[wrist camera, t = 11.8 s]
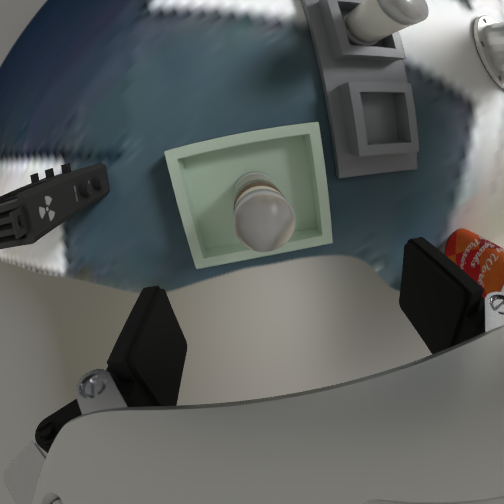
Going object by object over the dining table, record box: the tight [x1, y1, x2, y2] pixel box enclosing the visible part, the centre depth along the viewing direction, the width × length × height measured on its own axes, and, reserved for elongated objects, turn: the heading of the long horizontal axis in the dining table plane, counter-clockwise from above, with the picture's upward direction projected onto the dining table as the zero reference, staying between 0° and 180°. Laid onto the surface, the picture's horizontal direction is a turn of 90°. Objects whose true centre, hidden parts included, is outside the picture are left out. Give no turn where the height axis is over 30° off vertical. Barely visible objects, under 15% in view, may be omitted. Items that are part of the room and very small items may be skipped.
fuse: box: [343, 0, 428, 46], centre depth 16 cm, size 4×4×10 cm
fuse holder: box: [301, 0, 419, 178], centre depth 22 cm, size 10×22×4 cm, turn 11°
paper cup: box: [445, 229, 504, 298], centre depth 26 cm, size 8×8×14 cm
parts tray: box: [164, 122, 333, 269], centre depth 27 cm, size 14×12×3 cm
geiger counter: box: [0, 163, 110, 249], centre depth 19 cm, size 10×4×15 cm, turn 94°
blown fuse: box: [233, 171, 295, 252], centre depth 23 cm, size 4×4×10 cm
